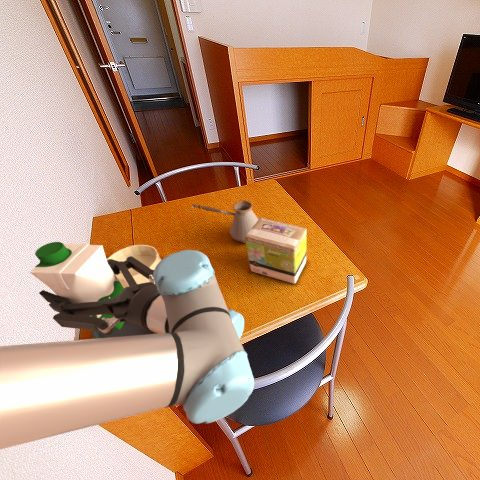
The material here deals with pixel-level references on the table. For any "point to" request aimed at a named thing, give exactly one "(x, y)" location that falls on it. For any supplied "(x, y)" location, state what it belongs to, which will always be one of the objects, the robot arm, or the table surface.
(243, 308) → the table surface
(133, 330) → the tray
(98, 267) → the milk carton
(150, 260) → the bowl
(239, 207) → the coffee pot
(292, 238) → the tea box
